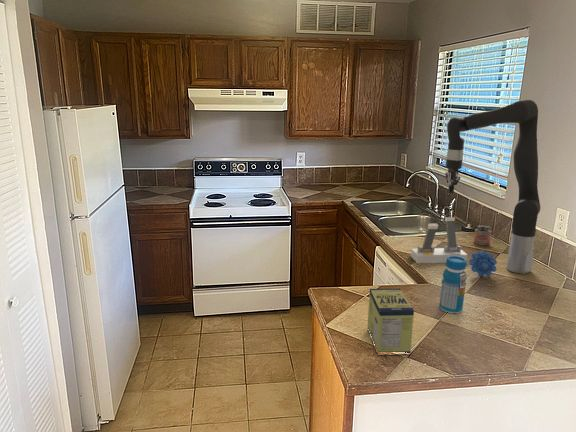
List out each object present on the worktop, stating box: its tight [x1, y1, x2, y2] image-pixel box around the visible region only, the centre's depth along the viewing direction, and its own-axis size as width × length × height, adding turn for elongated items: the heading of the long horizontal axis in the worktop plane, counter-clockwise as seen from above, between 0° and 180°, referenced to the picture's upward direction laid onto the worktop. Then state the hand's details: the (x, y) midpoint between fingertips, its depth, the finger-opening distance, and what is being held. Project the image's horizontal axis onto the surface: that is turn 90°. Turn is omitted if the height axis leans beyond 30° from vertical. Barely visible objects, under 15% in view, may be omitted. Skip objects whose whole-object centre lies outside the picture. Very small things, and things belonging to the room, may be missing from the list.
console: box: [410, 244, 468, 264], centre depth 207 cm, size 24×9×7 cm, turn 93°
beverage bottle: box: [438, 256, 468, 314], centre depth 158 cm, size 8×8×20 cm
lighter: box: [472, 225, 493, 246], centre depth 228 cm, size 8×3×10 cm, turn 62°
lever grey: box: [444, 216, 458, 251], centre depth 208 cm, size 4×2×16 cm, turn 93°
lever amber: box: [421, 223, 439, 252], centre depth 202 cm, size 4×2×16 cm, turn 93°
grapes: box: [468, 249, 498, 277], centre depth 187 cm, size 12×7×12 cm, turn 81°
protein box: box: [367, 288, 415, 354], centre depth 137 cm, size 10×16×16 cm
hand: (450, 192), depth 217 cm, fingers closed
